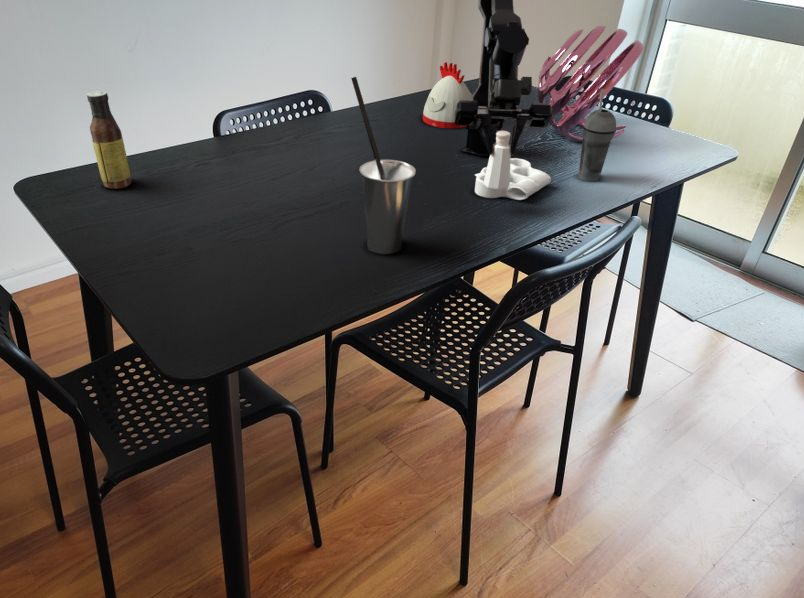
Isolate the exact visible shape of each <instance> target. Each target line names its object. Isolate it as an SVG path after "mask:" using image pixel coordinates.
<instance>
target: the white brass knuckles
mask: <svg viewBox="0 0 804 598" xmlns="http://www.w3.org/2000/svg"><path fill="white" fill-rule="evenodd" d="M486 170H487V166H485V167H483V168H482V169H481V171H480V172H478V173H476V174H474V176H475V185H474V193H475V194H476V196H479V197H482V198H486V199H498V198H508V199H512V200H516V201H522V200H526V199H528V198H529V197H530V196H532V195H534V194H535V193H536V192H538V191H540V190H541V189H543V188H544V187H546V186H547V185H550V184H551V182H552V178H551V176H550V175H549V174H548V173H547V172H545V171H543V170H540V169H537V168H533V167H532V164H531V162H530V161H528V160H526V159H523V158H517V157H514V158H513V157H511V162H510V184H509V186H508V187H507V189H503V190H494V189H489V188H487V187H486V186H485V185H483V182H484V178H485V174H486Z"/></svg>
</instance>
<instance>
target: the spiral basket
mask: <svg viewBox="0 0 804 598" xmlns="http://www.w3.org/2000/svg"><path fill="white" fill-rule="evenodd" d="M606 29H607V26H606V25H603V24H598V25H596V26H594V27H593V28H592V29H591V31H590V32H588V33H587V35H586V36H585V37H584V38H583V39H581V41H579V43H578V45H577V46H576V47H575V48H574V49H573V50H572V51H571V52H570V53H569V54H568V56H567V57H566V58H565V59H564V60H563V61H562V62H561V64H560V65H559V66H558V67H557V68H556V69H555V71H554V72H553V73H552V74H551V69H552V68H553V67H554V66H555V65H556V64H557V63H558V61H559V60H560V59H561V58H562V57H564V55H565V54H566V52H567V51H568V50H569V49H570V48H571V47H572V45H573V44H574V43H575V42H576V41H577V40H578V39H579V37H580V36H581V35H582V33H584V29H583V28H581V29H578V30H575V31H573V33H571V35H570V36H569V37H568V38H567V39H566V41H564V43H563V44H562V45H561V46H560V47H559V48H558V50H557V51H556V52H555V53H554V54H553V56H551V55H548V57H547V58H546V59H545V60H544V62H543V64H542V67H541V69H540V72H539V74H538V86H537V87H538V88H537V89H538V90H537V94H536V95H537V96H536V97H537V100H538V103H546V102H545V99H546V97H547V96H548V95H549V97H550V101H549V102H548V103H549V104H550V105H551V106H552V117H551V119H550V121H549V123H548V124H549V125H550V126H551V127H552V128H553V129H554V131H555V132H556V133H557V134H558V135H560V136H563V137H565V138H568V139H570V140H572V141H576V142H580V143H582V142H583V137H581V136H577V135H574V134H572V133H570V131H571V130H573V128H575V127H576V126H577V125H579V126H581V127H583V125H584V123H585V120H586V118H585V117H587V116H588V115H589V114H590V113H591V112H592V111H593V110H594V109H595V108H596V106H597V105H599V104H600V95H601V89H603V99H604V98H605V97H606V96H607V95H608V94H609V93H610V92H611V91H612V90H613V89H614V87H616V85H617V84H618V83H619V82H620V81H621V79H623V77H624V76H625V75H626V74H627V73H628V71H629V70H630V69H631V68H632V67H633V65H634V64H635V63H636V62H637V61H638V59H639V58H640V56H641V55H642V53H643V52H644V49H645V47H644V44H643V43H642V42H641V41H640V40H639V39H636V40H634V41H633V42H631V43H630V44H629V45H628V46H626V47H625V49H623V51H621V52H620V53H619V54H618V55H617V56H616V57H615V58H614V59H613V60H612V61H611V62H610V63H609V64H608V65H607V66H606V67H605V68H604V69H603V70H602V71H601V73H599V75H598V76H597V77H596V78H595V79H594V80H592V82H591V83H590V84H589V85H588V86H587V87H586V89H585V90H584V91H583V92H582V93H581V94H580V96H579V97H578V98H577V99H576V100H575V101H574V102H573V103H572V104H571V105H568V104H569V103H570V102H571V101H572V99H574V98H575V97H576V95H578V93H580V91H581V90H582V89H583V88H584V87H585V86H586V85H587V84H588V83H589V81H590V80H591V79H592V78H593V77H594V76H596V74H597V73H598V71H600V69H601V68H602V67H603V66H604V65H605V64H606V63H607V62H608V60H610V58H611V57H612V55H613V54H614V53H616V51H617V50H618V48H619V47H620V46H621V45H622V43H623V42H624V40H625V39H626V38H627V36H628V32H627V31H626V30H625V29H623V28H617V29H615V30H614V31H613V32H612V33H611V34H610V35H609V36H608V37H607V38H606V39H605V40H604V41H603V42H602V43H601V44H600V45H599V46H598V47H597V49H596V50H595V51H594V52H593V53H592V54H591V55H590V56H589V57H588V58H587V59H586V60H585V61H584V63H583V64H582V65H581V66H580V67H579V68H578V69H577V70H576V71H575V72H574V74H573V75H572V76H571V77H570V78H569V79H568V80H567V81H566V82H565V83H564V84H563V86H562V87H561V88H560V89H559V90H556V87H557V86H558V85H559V83H560V82H561V81H562V80H563V79H564V78H565V77H566V76H567V75H568V73H570V72H571V70H572V69H573V68H574V67H575V66H577V64H578V62H580V60H581V59H582V58H583V57H584V56H585V54H586V53H588V51H589V50H590V48H592V47H593V45H594V44H595V43H596V42H597V40H598V39H599V38H600V37H601V36H602V35H603V33H604V32H605V31H606ZM559 113H561V114H562V117H561V118H560V119H559V121H558V122H556V121H555V119H554V117H556V115H558V114H559ZM625 128H627V126H626V125H623V124H622V125H616V132H615V134H614V136H613V139H615V138H617V137H620V135H622V134H624V133H625V131H626V129H625Z"/></svg>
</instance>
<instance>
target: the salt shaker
mask: <svg viewBox="0 0 804 598" xmlns="http://www.w3.org/2000/svg"><path fill="white" fill-rule="evenodd" d="M496 136H497V137H496V142H495V143H494V144H493V150H492V155H489V156H488V157H489V158H488V161H487V166H486V167H487V170H486V174H485V178H484V182H483V185H485V186H486V187H487V188H489V189H494V190H503V189H507V187H508V186H509V184H510V162H511V158H512V156H511V144H510V139H511V136H512V133H511V132H509V131H507V130H497V131H496Z"/></svg>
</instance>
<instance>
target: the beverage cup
mask: <svg viewBox="0 0 804 598" xmlns="http://www.w3.org/2000/svg"><path fill="white" fill-rule="evenodd" d="M603 99H604V98H603V89H601V95H600V102H599V104H598V105H599V106H598V109H595V110H593V111H591V112H590V113H589V114H588V115H587V116H586V118H585V119H586V120H585V123H584V125H583V126H582V138H583V142H581V150H580V152H581V153H580V159H579V168H578V178H579V179H580V180H582V181H586V182H597V181H598V180H599V178H600V176H601V173H602V170H603V168H604V164H605V162H606V159H607V155H608V151H609V149H610V145H611V142H612V141H613V139H614V138H613V136H614V134H615V133H617V131H616V127H617V120H616V117H615V115H614V114H613V113H612V112H611V111H610V110H608V109H604V108H603Z"/></svg>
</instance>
